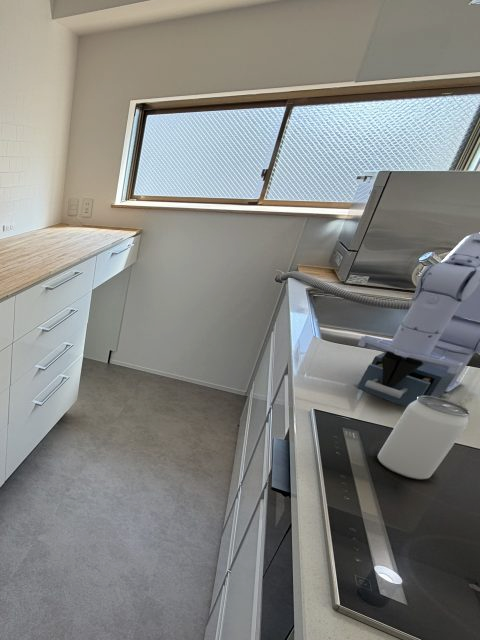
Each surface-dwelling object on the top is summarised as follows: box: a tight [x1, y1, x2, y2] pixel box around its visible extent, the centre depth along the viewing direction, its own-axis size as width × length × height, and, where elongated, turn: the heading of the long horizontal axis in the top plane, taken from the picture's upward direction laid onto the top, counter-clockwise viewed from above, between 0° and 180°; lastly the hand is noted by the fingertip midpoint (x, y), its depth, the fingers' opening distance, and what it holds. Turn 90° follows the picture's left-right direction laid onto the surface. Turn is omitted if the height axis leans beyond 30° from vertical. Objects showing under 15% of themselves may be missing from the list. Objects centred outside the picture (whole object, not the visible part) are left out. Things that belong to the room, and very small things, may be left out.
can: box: [377, 396, 471, 480], centre depth 65 cm, size 6×6×12 cm
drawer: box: [356, 363, 434, 408], centre depth 87 cm, size 16×9×6 cm, turn 120°
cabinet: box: [370, 352, 457, 398], centre depth 90 cm, size 13×11×8 cm
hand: (385, 389), depth 84 cm, fingers closed, pressing on drawer
